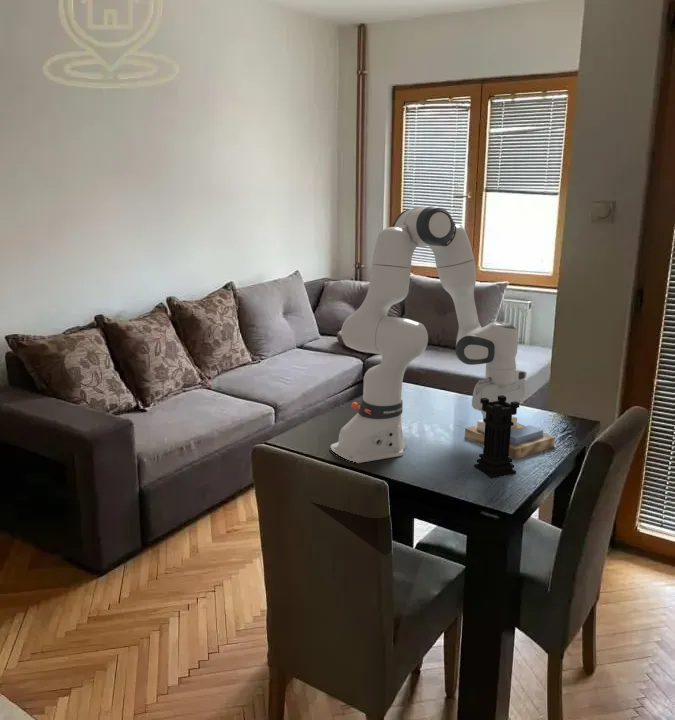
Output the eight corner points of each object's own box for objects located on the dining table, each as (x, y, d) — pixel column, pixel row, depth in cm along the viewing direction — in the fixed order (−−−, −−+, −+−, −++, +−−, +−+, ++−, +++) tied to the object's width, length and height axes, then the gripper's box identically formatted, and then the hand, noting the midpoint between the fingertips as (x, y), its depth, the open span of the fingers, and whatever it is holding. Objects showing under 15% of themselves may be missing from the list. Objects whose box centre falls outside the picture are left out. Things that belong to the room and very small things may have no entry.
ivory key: (489, 435, 203) (489, 425, 202) (477, 429, 207) (477, 420, 206) (516, 427, 210) (517, 417, 209) (504, 422, 213) (504, 413, 213)
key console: (515, 459, 192) (516, 449, 192) (464, 437, 208) (465, 428, 207) (554, 446, 202) (555, 437, 201) (502, 426, 218) (503, 417, 217)
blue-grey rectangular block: (514, 448, 195) (515, 438, 194) (501, 442, 199) (502, 433, 198) (542, 439, 202) (543, 430, 201) (529, 434, 206) (529, 425, 205)
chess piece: (491, 478, 180) (496, 407, 175) (473, 467, 187) (478, 398, 182) (515, 473, 183) (521, 403, 178) (497, 462, 190) (503, 394, 185)
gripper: (484, 383, 196) (481, 428, 200) (530, 371, 208) (527, 414, 211) (468, 378, 201) (465, 422, 205) (514, 367, 212) (511, 408, 216)
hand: (497, 418), depth 208 cm, fingers open, 8 cm apart
